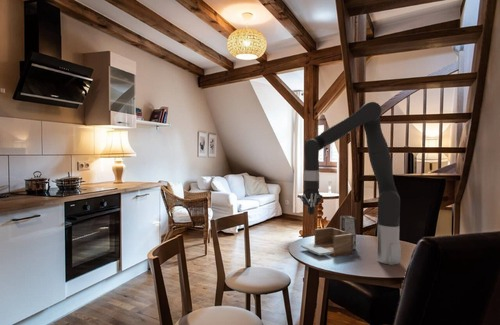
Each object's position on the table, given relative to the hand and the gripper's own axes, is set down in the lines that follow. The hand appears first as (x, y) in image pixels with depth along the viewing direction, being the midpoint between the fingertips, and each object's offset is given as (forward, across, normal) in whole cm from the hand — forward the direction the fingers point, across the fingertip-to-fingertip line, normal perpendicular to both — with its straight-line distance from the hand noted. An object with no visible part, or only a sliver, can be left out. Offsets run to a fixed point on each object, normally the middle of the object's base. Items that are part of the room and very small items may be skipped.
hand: (311, 214), depth 157 cm
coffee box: (+20, +26, +1) cm, 33 cm away
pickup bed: (+20, +13, -1) cm, 24 cm away
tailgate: (+18, +6, -1) cm, 19 cm away
